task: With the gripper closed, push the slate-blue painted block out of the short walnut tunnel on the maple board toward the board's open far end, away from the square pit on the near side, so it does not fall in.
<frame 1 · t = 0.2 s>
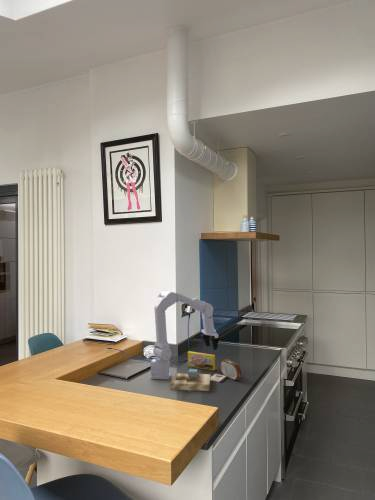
hand: (211, 347, 209), 11 cm above the counter, tool pointing down, fingers open, 7 cm apart
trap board: (191, 384, 181), on the counter
candy box: (201, 368, 207), on the counter
tin: (230, 378, 191), on the counter
block: (192, 378, 181), point 3 cm above the counter, touching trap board
chocolate bar: (220, 377, 194), on the counter
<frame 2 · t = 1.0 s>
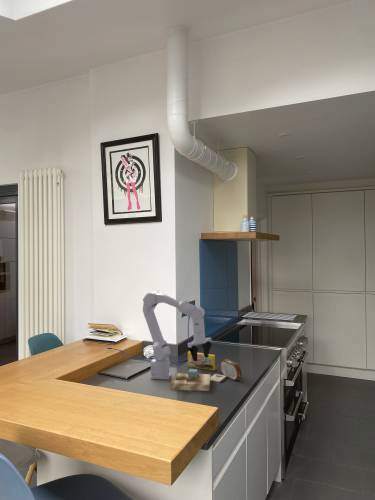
hand: (200, 359, 186), 11 cm above the counter, tool pointing down, fingers open, 7 cm apart
nothing on the counter moved.
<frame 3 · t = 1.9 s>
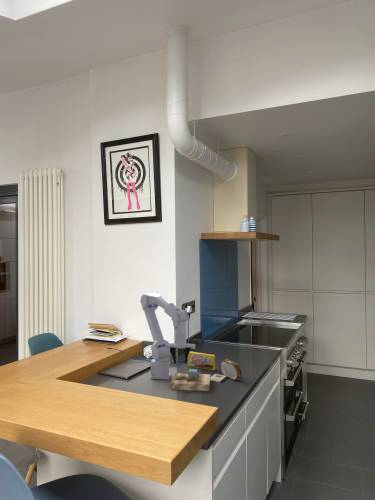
hand: (180, 363, 181), 10 cm above the counter, tool pointing down, fingers open, 5 cm apart
nothing on the counter moved.
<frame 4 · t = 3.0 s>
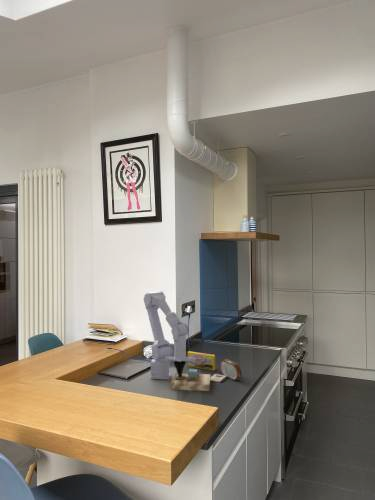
hand: (180, 376, 182), 4 cm above the counter, tool pointing down, fingers closed
nothing on the counter moved.
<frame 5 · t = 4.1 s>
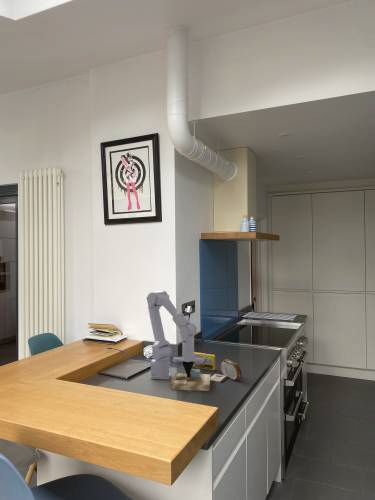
hand: (188, 377, 181), 4 cm above the counter, tool pointing down, fingers closed
block: (195, 378, 181), point 3 cm above the counter, touching gripper, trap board
everything else where it was.
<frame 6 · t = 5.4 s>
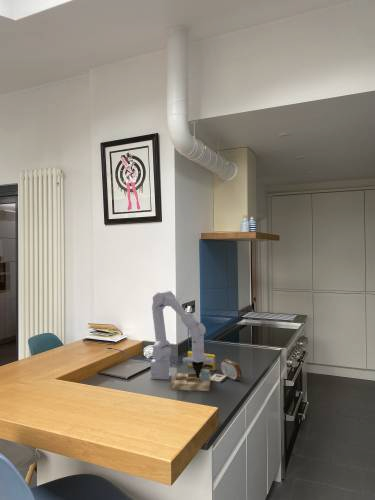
hand: (198, 377, 181), 4 cm above the counter, tool pointing down, fingers closed
block: (205, 379, 180), point 3 cm above the counter, touching gripper, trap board
everything else where it was.
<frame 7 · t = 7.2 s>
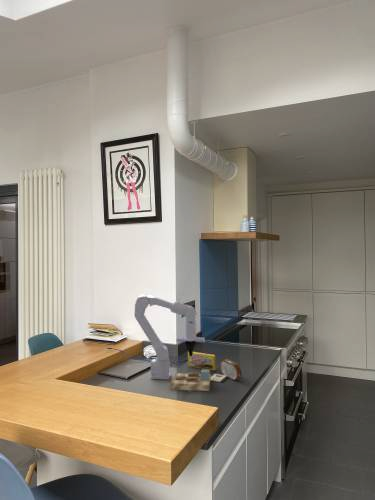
hand: (191, 355, 194), 10 cm above the counter, tool pointing down, fingers closed
block: (205, 379, 180), point 3 cm above the counter, touching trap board
everything else where it was.
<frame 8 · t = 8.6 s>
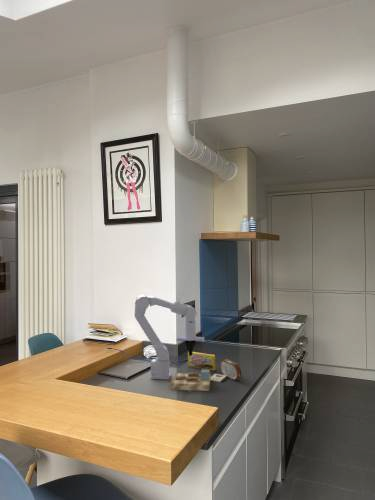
hand: (190, 355, 195), 10 cm above the counter, tool pointing down, fingers closed
nothing on the counter moved.
at the end: block 0.2 cm from the target spot, point 3.0 cm above the counter; block tilted 0° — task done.
